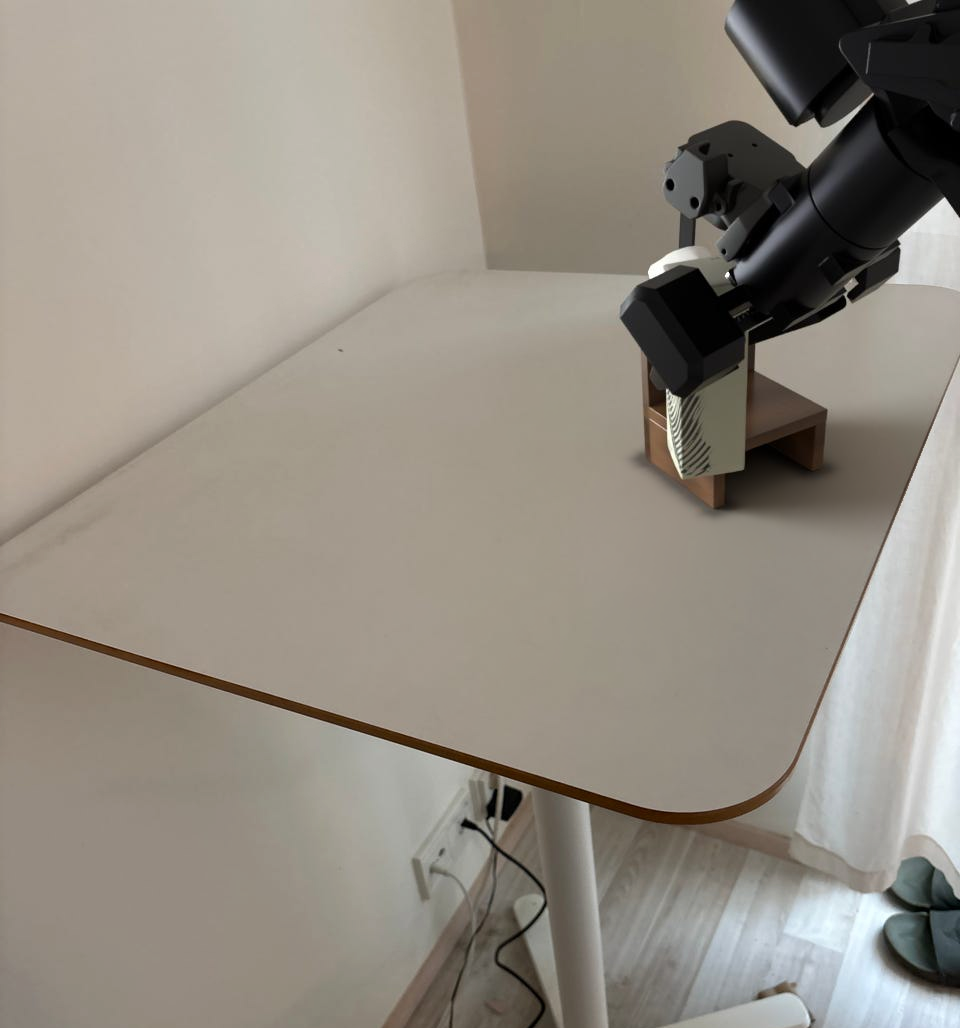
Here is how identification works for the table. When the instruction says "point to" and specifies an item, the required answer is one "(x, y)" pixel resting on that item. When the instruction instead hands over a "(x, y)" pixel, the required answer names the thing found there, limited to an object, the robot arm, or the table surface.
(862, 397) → the table surface
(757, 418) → the wooden doll chair
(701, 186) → the robot arm
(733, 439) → the box
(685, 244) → the cocoa
